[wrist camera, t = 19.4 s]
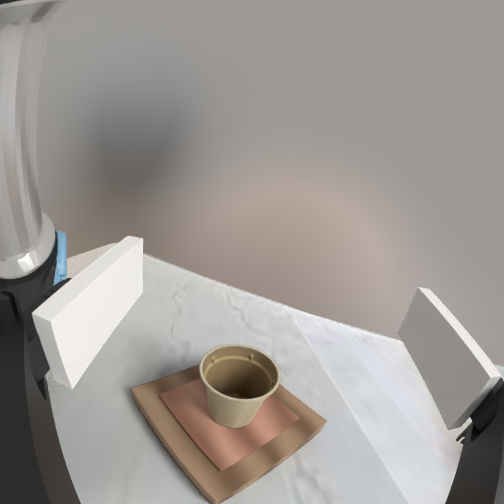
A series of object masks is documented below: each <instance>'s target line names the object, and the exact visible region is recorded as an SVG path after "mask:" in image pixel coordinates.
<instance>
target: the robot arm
mask: <svg viewBox="0 0 504 504" xmlns="http://www.w3.org/2000/svg"><path fill="white" fill-rule="evenodd" d="M70 1H71V0H0V504H81V503H80V501H79V498H78V496H77V493H76V491H75V488H74V486H73V483H72V480H71V478H70V475H69V472H68V469H67V466H66V463H65V460H64V457H63V453H62V450H61V446H60V443H59V439H58V435H57V431H56V427H55V423H54V418H53V413H52V408H51V403H50V398H49V392H48V385H47V381H46V379H45V375H46V373H47V372H48V371H49V369H50V371H51V373H52V376H53V378H54V381H56V382H58V383H60V384H62V385H64V386H66V387H68V388H70V389H72V390H73V388H74V387H75V385H76V384H77V382H78V381H79V379H80V378H81V376H82V375H83V373H84V372H85V370H86V369H87V367H88V366H89V364H90V363H91V362H92V360H93V359H94V357H95V356H96V354H97V353H98V352H99V350H100V349H101V347H102V346H103V345H104V343H105V342H106V340H107V339H108V338H109V336H110V335H111V334H112V332H113V331H114V329H115V328H116V327H117V325H118V324H119V323H120V321H121V320H122V319H123V317H124V316H125V315H126V313H127V312H128V311H129V309H130V308H131V307H132V305H133V304H134V303H135V302H136V300H137V299H138V298H139V296H140V295H141V294H142V293H143V238H137V237H132V236H127V237H126V238H124V239H123V240H122V241H121V242H119V243H118V244H116V245H115V246H114V247H112V248H111V249H110V250H108V251H107V252H106V253H104V254H103V255H102V256H100V257H99V258H98V259H96V260H95V261H94V262H92V263H91V264H90V265H89V266H87V267H86V268H85V269H83V270H82V271H81V272H80V273H78V274H77V275H76V276H75V277H73V278H66V275H67V272H66V270H67V257H66V255H67V254H66V251H67V248H66V247H67V245H66V234H65V233H64V232H60V231H58V230H54V226H53V223H52V221H51V220H50V218H49V217H48V216H47V215H46V214H45V213H43V212H42V211H41V208H40V198H39V188H38V176H37V157H36V156H37V154H36V122H37V103H38V92H39V81H40V73H41V66H42V60H43V54H44V48H45V43H46V39H47V34H48V30H49V26H50V22H51V18H52V17H53V16H54V14H55V13H57V11H59V10H60V9H61V8H63V7H64V6H65V5H66V4H68V3H69V2H70ZM398 334H399V336H400V338H401V339H402V341H403V343H404V345H405V347H406V348H407V350H408V352H409V354H410V355H411V357H412V359H413V361H414V363H415V365H416V366H417V368H418V370H419V372H420V374H421V376H422V378H423V380H424V381H425V383H426V385H427V387H428V389H429V391H430V393H431V395H432V397H433V399H434V401H435V403H436V405H437V407H438V409H439V411H440V414H441V416H442V418H443V420H444V422H445V424H446V426H447V429H448V430H450V429H454V428H458V427H461V426H462V425H463V424H464V423H465V421H466V420H467V419H468V418H469V417H470V418H471V419H472V422H471V423H470V425H469V426H468V427H467V428H466V429H465V430H464V431H463V432H462V433H461V434H460V435H459V436H458V437H457V439H456V441H459V440H460V439H461V438H462V437H465V438H464V439H463V440H462V441H461V442H460V443H462V444H464V445H463V449H462V453H461V457H460V460H459V464H458V468H457V471H456V474H455V477H454V481H453V484H452V487H451V490H450V492H449V495H448V498H447V501H446V503H445V504H504V381H503V379H502V378H501V374H500V373H499V372H498V370H497V369H496V368H495V366H494V365H493V364H492V363H491V361H490V360H489V358H488V357H487V356H486V354H484V352H483V351H482V350H481V348H480V347H479V346H478V344H477V343H476V342H475V341H474V339H473V338H472V337H471V336H470V334H469V333H468V332H467V331H466V330H465V328H463V326H462V325H461V324H460V323H459V322H458V320H457V319H456V318H455V317H454V316H453V315H452V314H451V312H450V311H449V310H448V309H447V308H446V307H445V306H444V304H443V303H441V301H440V300H439V299H438V298H437V297H436V296H435V295H434V294H433V293H432V292H431V290H430V289H426V288H420V287H418V289H417V291H416V294H415V296H414V298H413V301H412V303H411V305H410V307H409V310H408V312H407V314H406V316H405V319H404V321H403V323H402V325H401V327H400V329H399V331H398Z"/></svg>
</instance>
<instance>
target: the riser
mask: <svg viewBox="0 0 504 504" xmlns="http://www.w3.org/2000/svg"><path fill="white" fill-rule="evenodd" d="M199 366H200V364H199V365H196V366H194V367H191V368H188V369H186V370H183V371H180V372H178V373H175V374H172V375H169V376H166V377H164V378H161V379H158V380H155V381H152V382H149V383H146V384H143V385H140V386H137V387H134V388H132V393H133V398H134V401H135V403H136V405H137V406H138V408H139V409H140V411H141V413H142V414H143V416H144V417H145V419H146V421H147V422H148V424H149V425H150V427H151V428H152V430H153V431H154V433H155V434H156V436H157V437H158V438H159V440H160V441H161V443H162V444H163V446H164V447H165V448H166V450H167V451H168V452H169V454H170V455H171V456H172V458H173V459H174V460H175V462H176V463H177V464H178V466H179V467H180V468H181V469H182V471H183V472H184V473H185V474H186V476H187V477H188V478H189V479H190V480H191V482H192V483H193V484H194V485H195V486H196V487H197V489H198V490H199V491H200V492H201V493H202V494H203V495H204V496H205V498H206V499H207V500H208V501H209V502H210V503H211V504H220V503H222V502H223V501H225V500H227V499H228V498H230V497H232V496H233V495H235V494H237V493H238V492H240V491H242V490H243V489H245V488H246V487H248V486H249V485H251V484H252V483H254V482H255V481H257V480H258V479H260V478H261V477H263V476H264V475H266V474H267V473H268V472H270V471H271V470H273V469H274V468H275V467H277V466H278V465H279V464H281V463H282V462H283V461H285V460H286V459H287V458H289V457H290V456H291V455H292V454H294V453H295V452H296V451H297V450H299V449H300V448H301V447H302V446H304V445H305V444H306V443H307V442H308V441H310V440H311V439H312V438H313V437H314V436H315V435H317V434H318V433H319V432H320V431H321V429H322V428H323V426H324V425H325V423H326V422H327V420H325V419H324V418H322V417H321V416H320V415H318V414H317V413H316V412H315V411H313V410H312V409H311V408H309V407H308V406H307V405H305V404H304V403H303V402H302V401H300V400H299V399H298V398H297V397H295V396H294V395H293V394H291V393H290V392H289V391H288V390H287V389H285V388H284V387H283V386H282V385H280V384H279V385H278V387H277V389H276V390H275V391H274V392H273V393H272V394H271V395H270V396H268V397H267V398H266V399H265V400H264V401H263V403H262V405H261V406H260V408H259V409H258V411H257V413H256V414H255V416H254V418H253V420H252V421H251V422H250V423H249V424H247V425H245V426H243V427H238V428H232V427H228V426H224V425H220V424H219V423H217V422H216V421H215V420H214V419H213V418H212V416H211V415H210V412H209V405H208V397H207V389H206V386H205V384H204V382H203V381H202V379H201V376H200V370H199Z"/></svg>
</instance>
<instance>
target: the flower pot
mask: <svg viewBox="0 0 504 504" xmlns="http://www.w3.org/2000/svg"><path fill="white" fill-rule="evenodd" d="M199 370H200V376H201V379H202V381H203V382H204V384H205V386H206V389H207V397H208V405H209V412H210V415H211V416H212V418H213V419H214V420H215V421H216V422H217V423H219V424H220V425H224V426H228V427H232V428H238V427H243V426H245V425H247V424H249V423H250V422H251V421H252V420H253V418H254V416H255V414H256V413H257V411H258V409H259V408H260V406H261V405H262V403H263V401H264V400H265V399H266V398H267V397H268V396H270V395H271V394H272V393H273V392H274V391H275V390H276V389H277V387H278V385H279V383H280V371H279V368H278V366H277V364H276V363H275V361H274V360H273V359H272V358H271V357H269V356H268V355H267V354H266V353H264V352H262V351H261V350H259V349H257V348H254V347H251V346H246V345H240V344H227V345H222V346H219V347H216V348H214V349H212V350H210V351H209V352H207V353H206V354H205V355H204V357H203V358H202V360H201V362H200V366H199Z"/></svg>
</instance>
